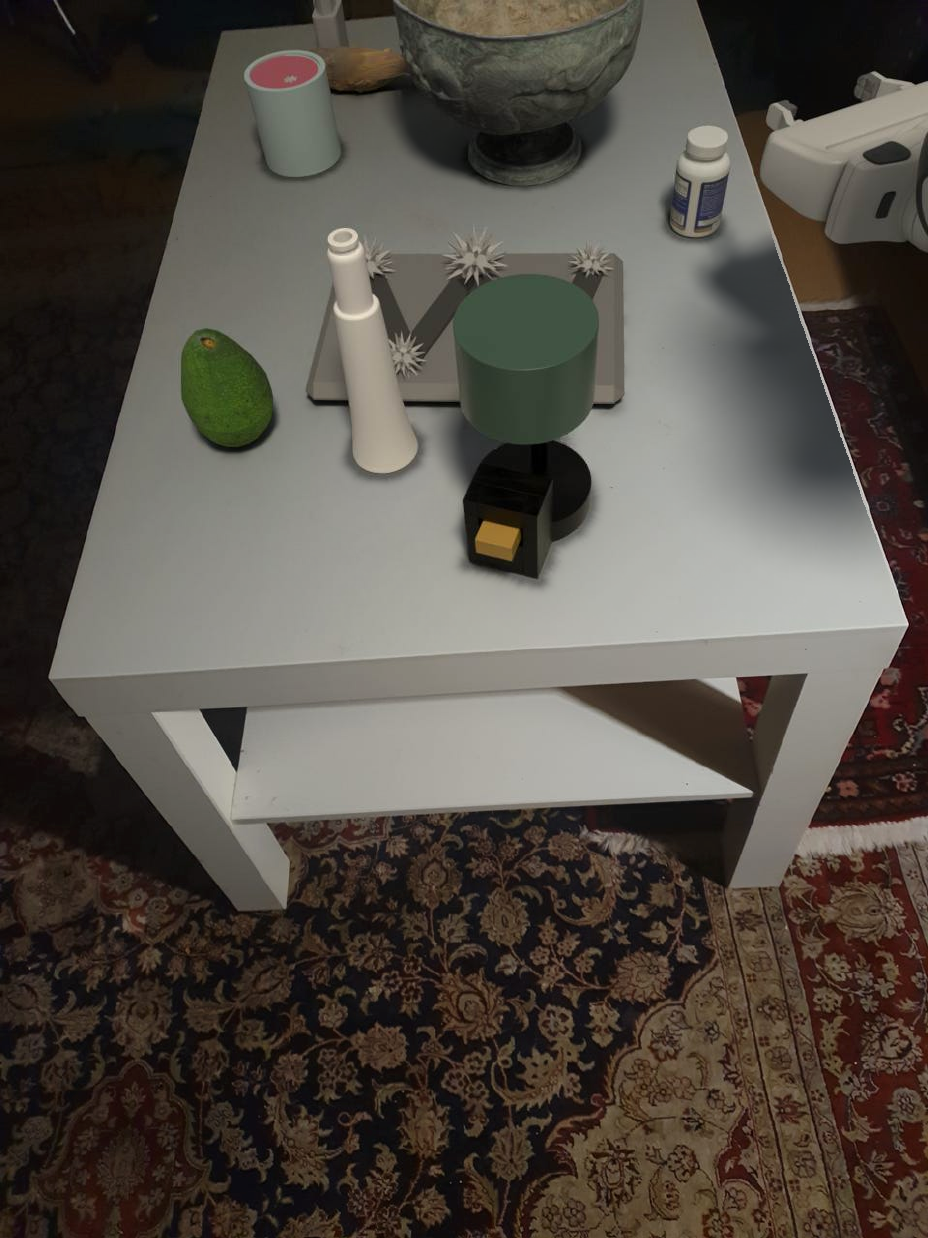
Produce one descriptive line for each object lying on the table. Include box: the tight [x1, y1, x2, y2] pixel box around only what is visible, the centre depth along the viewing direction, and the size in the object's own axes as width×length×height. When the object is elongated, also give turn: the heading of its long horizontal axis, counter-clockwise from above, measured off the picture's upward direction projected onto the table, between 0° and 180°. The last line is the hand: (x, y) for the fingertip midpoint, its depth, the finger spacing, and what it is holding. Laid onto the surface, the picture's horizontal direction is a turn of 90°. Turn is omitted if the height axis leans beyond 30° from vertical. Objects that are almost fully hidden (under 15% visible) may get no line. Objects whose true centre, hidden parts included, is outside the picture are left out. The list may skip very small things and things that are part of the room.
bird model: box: [307, 45, 410, 94], centre depth 118 cm, size 6×21×5 cm, turn 88°
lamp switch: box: [475, 519, 521, 561], centre depth 72 cm, size 2×3×2 cm
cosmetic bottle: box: [326, 227, 419, 474], centre depth 75 cm, size 6×6×22 cm
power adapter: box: [311, 0, 350, 48], centre depth 119 cm, size 3×5×12 cm, turn 174°
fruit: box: [180, 327, 274, 448], centre depth 82 cm, size 8×8×12 cm
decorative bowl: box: [392, 0, 645, 187], centre depth 101 cm, size 26×26×20 cm
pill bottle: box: [669, 125, 731, 238], centre depth 96 cm, size 5×5×10 cm
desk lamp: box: [453, 274, 599, 580], centre depth 71 cm, size 13×10×20 cm
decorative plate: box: [305, 223, 625, 405], centre depth 89 cm, size 30×22×7 cm
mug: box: [243, 49, 342, 178], centre depth 110 cm, size 14×9×10 cm
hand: (818, 95), depth 79 cm, fingers open, 8 cm apart
